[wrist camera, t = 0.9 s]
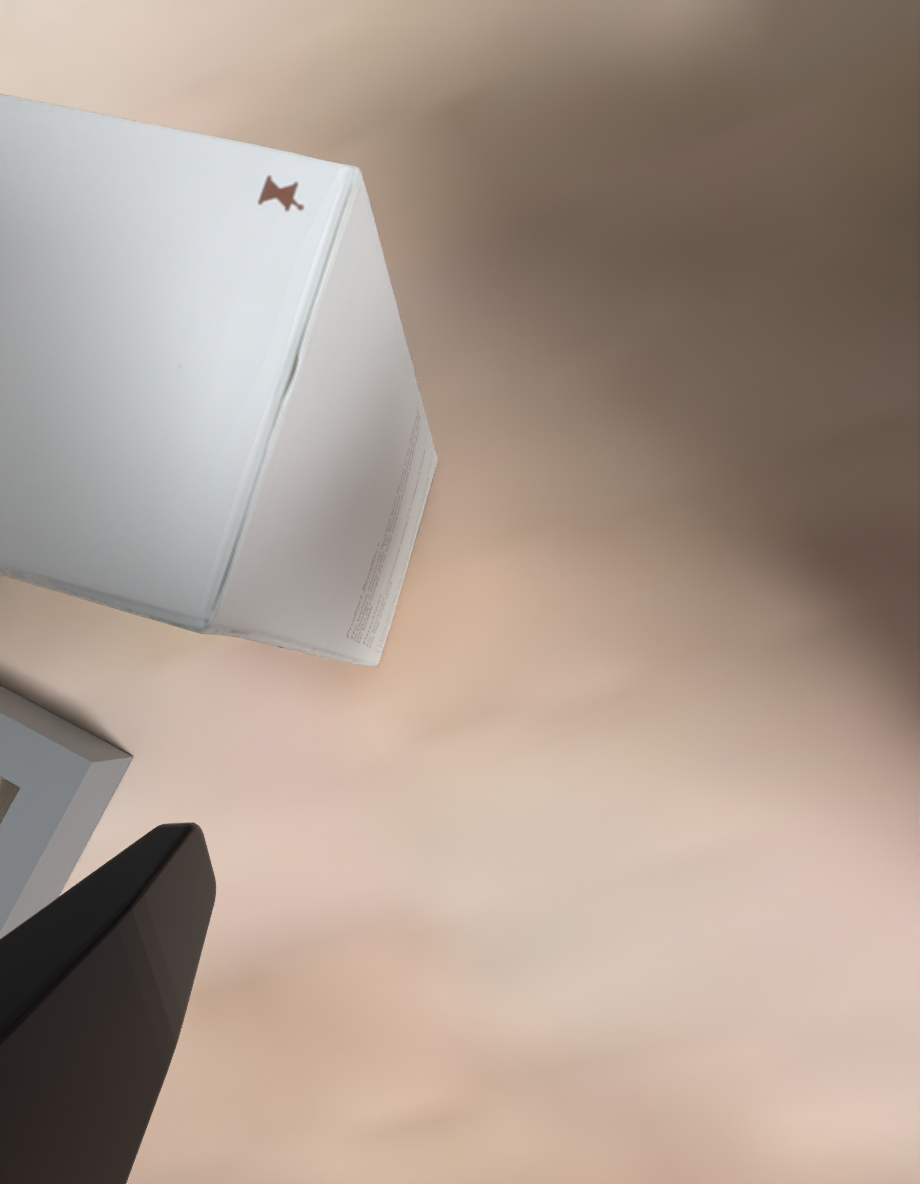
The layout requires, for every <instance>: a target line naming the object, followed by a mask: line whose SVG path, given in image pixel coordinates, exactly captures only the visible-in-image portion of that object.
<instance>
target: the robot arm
mask: <svg viewBox="0 0 920 1184" xmlns="http://www.w3.org/2000/svg"><path fill="white" fill-rule="evenodd" d="M215 896H216V881H215V876H214V872H213V868H212V864H211V861H210V857H209V853H208V849H207V845H206V842H205V838H204V834H203V832H202V829H201V828H200V827H199V825H197V824H195V823H171V824H162V825H159V826H157V827H156V828H154V829H153V830H151V831H150V832H148V833H147V834H146V835H144V836H143V837H142V838H140V839H139V840H137V841H136V842H135V843H133V844H132V845H130V846H129V847H128V848H126V849H125V850H123V851H122V852H121V853H119V854H118V855H116V856H115V857H114V858H112V859H111V860H110V861H108V862H107V863H105V864H104V865H103V866H101V867H100V868H98V869H97V870H96V871H94V872H93V873H91V874H90V875H89V876H87V877H86V878H84V879H83V880H82V881H80V882H79V883H78V884H76V885H75V886H73V887H72V888H71V889H69V890H68V891H66V892H65V893H64V894H62V895H61V896H59V897H58V898H57V899H55V900H54V901H52V902H51V903H50V904H48V905H47V906H45V907H44V908H43V909H41V910H40V911H39V912H37V913H36V914H34V915H33V916H32V917H30V918H29V919H27V920H26V921H25V922H23V923H22V924H20V925H19V926H18V927H16V928H15V929H13V930H12V931H11V932H9V933H8V934H7V935H5V936H4V937H2V938H1V939H0V1184H126V1182H127V1180H128V1177H129V1174H130V1172H131V1169H132V1166H133V1164H134V1161H135V1158H136V1155H137V1153H138V1150H139V1147H140V1145H141V1142H142V1139H143V1136H144V1134H145V1131H146V1128H147V1126H148V1123H149V1120H150V1117H151V1115H152V1112H153V1109H154V1107H155V1104H156V1101H157V1099H158V1096H159V1093H160V1090H161V1088H162V1085H163V1082H164V1080H165V1077H166V1074H167V1071H168V1069H169V1066H170V1063H171V1060H172V1057H173V1054H174V1051H175V1048H176V1045H177V1042H178V1038H179V1035H180V1032H181V1028H182V1025H183V1021H184V1017H185V1014H186V1010H187V1006H188V1002H189V998H190V994H191V991H192V987H193V983H194V979H195V975H196V972H197V968H198V964H199V960H200V956H201V952H202V949H203V945H204V941H205V937H206V933H207V929H208V926H209V922H210V918H211V914H212V910H213V907H214V902H215Z"/></svg>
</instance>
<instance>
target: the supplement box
mask: <svg viewBox="0 0 920 1184" xmlns="http://www.w3.org/2000/svg"><path fill="white" fill-rule="evenodd" d="M437 462H438V457H437V455H436V452H435V448H434V444H433V440H432V436H431V431H430V428H429V425H428V421H427V417H426V414H425V410H424V406H423V402H422V398H421V394H420V391H419V387H418V384H417V380H416V376H415V371H414V368H413V364H412V361H411V357H410V353H409V349H408V346H407V342H406V338H405V334H404V331H403V327H402V323H401V319H400V315H399V311H398V308H397V304H396V300H395V296H394V292H393V289H392V285H391V281H390V278H389V274H388V270H387V266H386V262H385V258H384V255H383V251H382V247H381V243H380V239H379V235H378V232H377V228H376V224H375V220H374V217H373V213H372V209H371V205H370V201H369V198H368V194H367V190H366V187H365V183H364V179H363V176H362V172H361V170H360V169H359V168H358V166H354V165H348V164H343V163H337V162H331V161H326V160H320V159H316V158H312V157H309V156H305V155H301V154H297V153H292V152H288V151H283V150H278V149H273V148H269V147H264V146H259V145H254V144H250V143H245V142H240V141H235V140H230V139H225V138H219V137H214V136H209V135H204V134H199V133H194V132H189V131H184V130H179V129H174V128H170V127H165V126H160V125H155V124H150V123H144V122H138V121H133V120H128V119H124V118H119V117H114V116H109V115H104V114H99V113H95V112H90V111H84V110H79V109H74V108H69V107H64V106H59V105H54V104H49V103H44V102H38V101H33V100H28V99H23V98H19V97H15V96H9V95H3V94H0V574H1V575H4V576H7V577H10V578H14V579H17V580H20V581H24V582H27V583H30V584H34V585H37V586H41V587H44V588H47V589H51V590H54V591H58V592H61V593H65V594H68V595H71V596H75V597H78V598H82V599H85V600H88V601H92V602H95V603H98V604H102V605H105V606H109V607H112V608H115V609H119V610H122V611H125V612H129V613H132V614H135V615H139V616H142V617H146V618H149V619H152V620H156V621H159V622H163V623H166V624H169V625H173V626H176V627H180V628H183V629H187V630H190V631H193V632H197V633H200V634H212V635H224V636H232V637H238V638H244V639H248V640H253V641H257V642H261V643H266V644H270V645H275V646H278V647H281V648H287V649H291V650H295V651H300V652H304V653H308V654H312V655H316V656H320V657H324V658H329V659H333V660H337V661H342V662H346V663H353V664H358V665H363V666H377V665H378V664H379V661H380V658H381V655H382V652H383V648H384V645H385V642H386V639H387V636H388V633H389V630H390V626H391V623H392V620H393V616H394V613H395V609H396V606H397V602H398V599H399V596H400V592H401V589H402V585H403V582H404V578H405V575H406V571H407V568H408V564H409V561H410V557H411V554H412V550H413V547H414V543H415V539H416V536H417V532H418V529H419V525H420V522H421V518H422V515H423V511H424V508H425V504H426V500H427V497H428V493H429V490H430V486H431V483H432V479H433V476H434V472H435V469H436V465H437Z"/></svg>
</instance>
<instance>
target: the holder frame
mask: <svg viewBox="0 0 920 1184" xmlns="http://www.w3.org/2000/svg"><path fill="white" fill-rule="evenodd" d="M132 759H133V756H131V755H129V754H127V753H125V752H123V751H122V750H120V749H118V748H116V747H114V746H112V745H110V744H109V743H107V742H105V741H103V740H101V739H99V738H97V737H96V736H94V735H92V734H90V733H88V732H86V731H84V730H82V729H81V728H79V727H77V726H75V725H73V724H71V723H69V722H68V721H66V720H64V719H62V718H60V717H58V716H56V715H55V714H53V713H51V712H49V711H47V710H45V709H43V708H41V707H40V706H38V705H36V704H34V703H32V702H30V701H28V700H27V699H25V698H23V697H21V696H19V695H17V694H15V693H14V692H12V691H10V690H8V689H6V688H4V687H2V686H0V777H2V778H4V779H6V780H7V781H9V782H11V783H13V784H15V785H16V786H18V787H20V789H19V791H18V793H17V795H16V797H15V798H14V800H13V802H12V804H11V806H10V807H9V809H8V811H7V813H6V815H5V816H4V818H3V820H2V822H1V824H0V939H1V938H2V937H4V936H5V935H7V934H8V933H9V932H11V931H12V930H13V929H15V928H16V927H18V926H19V925H20V924H22V923H23V922H25V921H26V920H27V919H29V918H30V917H32V916H33V915H34V914H36V913H37V912H39V911H40V910H41V909H43V908H44V907H45V906H47V905H48V904H50V903H51V902H52V901H54V900H55V899H57V898H58V896H59V894H60V893H61V891H62V889H63V887H64V885H65V883H66V881H67V880H68V878H69V876H70V874H71V872H72V870H73V868H74V867H75V865H76V863H77V861H78V859H79V857H80V855H81V854H82V852H83V850H84V848H85V846H86V844H87V842H88V840H89V839H90V837H91V835H92V833H93V831H94V829H95V827H96V826H97V824H98V822H99V820H100V818H101V816H102V814H103V813H104V811H105V809H106V807H107V805H108V803H109V801H110V800H111V798H112V796H113V794H114V792H115V790H116V788H117V787H118V785H119V783H120V781H121V779H122V777H123V775H124V773H125V772H126V770H127V768H128V766H129V764H130V762H131V760H132Z"/></svg>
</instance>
